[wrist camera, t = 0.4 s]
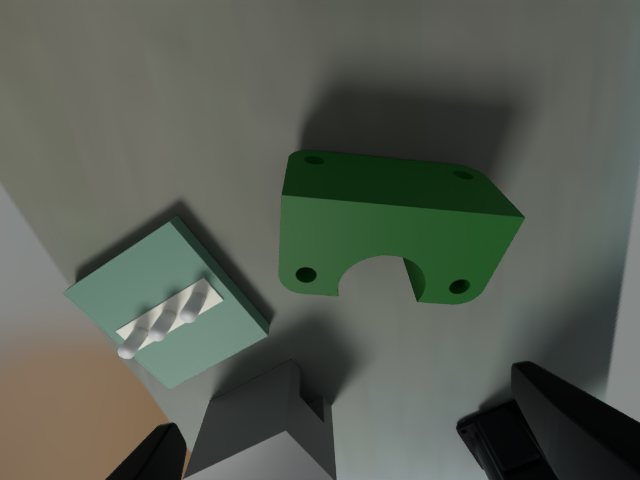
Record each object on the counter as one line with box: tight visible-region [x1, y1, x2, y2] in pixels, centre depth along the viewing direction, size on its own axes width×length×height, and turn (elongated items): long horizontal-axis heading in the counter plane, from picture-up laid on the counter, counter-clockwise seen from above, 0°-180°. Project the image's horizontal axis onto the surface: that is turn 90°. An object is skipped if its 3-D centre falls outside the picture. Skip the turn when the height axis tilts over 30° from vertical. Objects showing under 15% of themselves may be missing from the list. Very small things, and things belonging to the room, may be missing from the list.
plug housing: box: [183, 359, 336, 480], centre depth 24 cm, size 6×8×6 cm
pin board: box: [63, 216, 270, 390], centre depth 21 cm, size 10×9×3 cm
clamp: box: [278, 150, 525, 304], centre depth 18 cm, size 12×6×9 cm, turn 78°
